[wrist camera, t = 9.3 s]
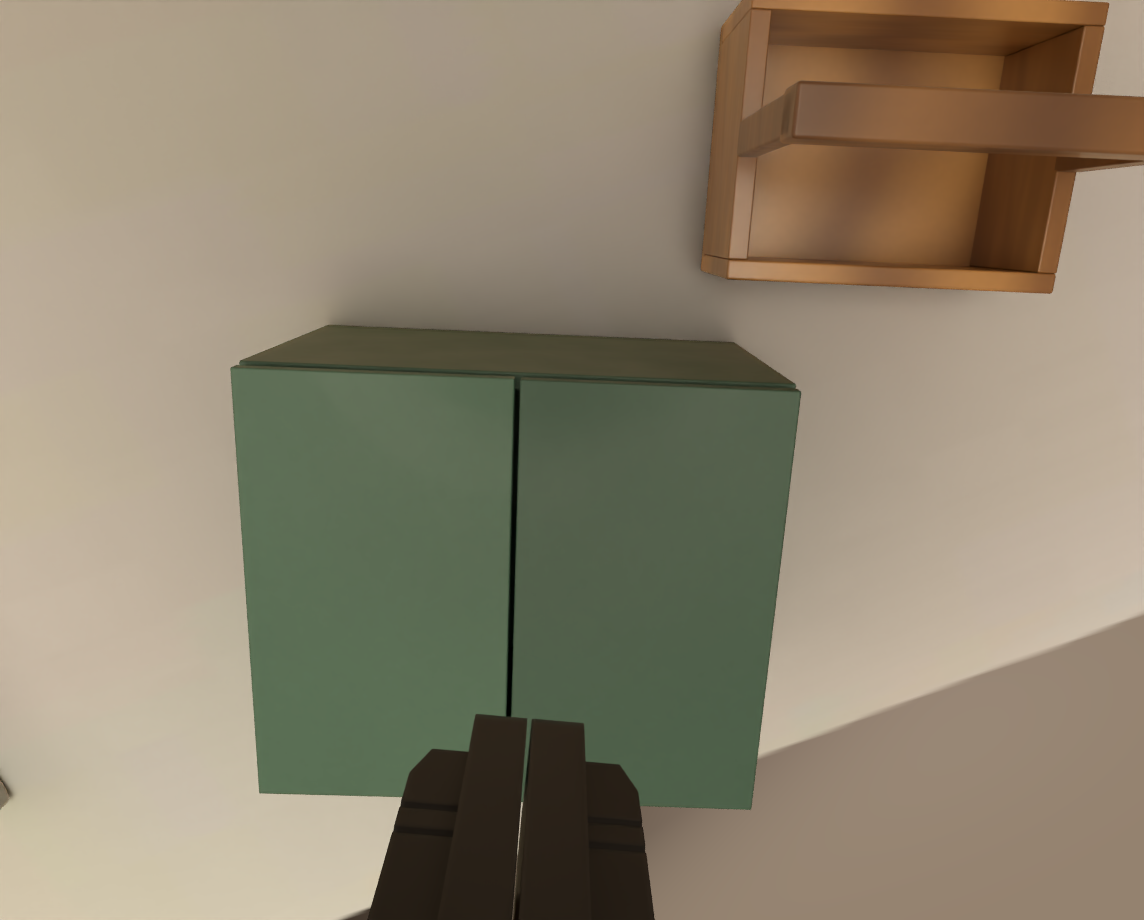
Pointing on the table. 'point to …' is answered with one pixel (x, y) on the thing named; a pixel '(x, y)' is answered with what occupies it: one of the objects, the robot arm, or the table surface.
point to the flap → (372, 568)
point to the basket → (907, 140)
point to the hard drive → (3, 795)
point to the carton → (628, 537)
